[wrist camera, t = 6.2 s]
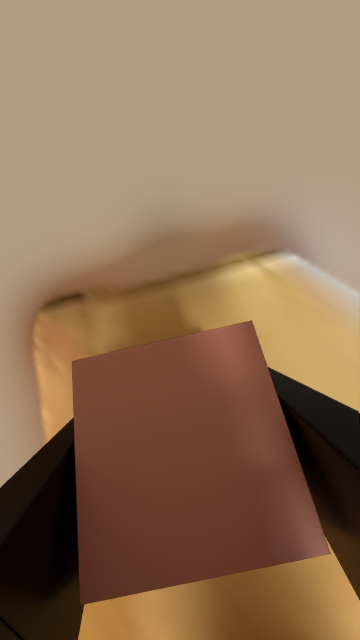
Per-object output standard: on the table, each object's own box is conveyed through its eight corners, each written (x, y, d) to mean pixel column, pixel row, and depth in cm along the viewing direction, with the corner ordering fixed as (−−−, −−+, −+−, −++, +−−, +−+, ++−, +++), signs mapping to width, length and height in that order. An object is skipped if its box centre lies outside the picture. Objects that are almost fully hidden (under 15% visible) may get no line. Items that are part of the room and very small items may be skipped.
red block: (255, 473, 13) (330, 554, 5) (160, 493, 13) (80, 604, 5) (228, 377, 15) (251, 320, 7) (146, 395, 15) (71, 361, 7)
